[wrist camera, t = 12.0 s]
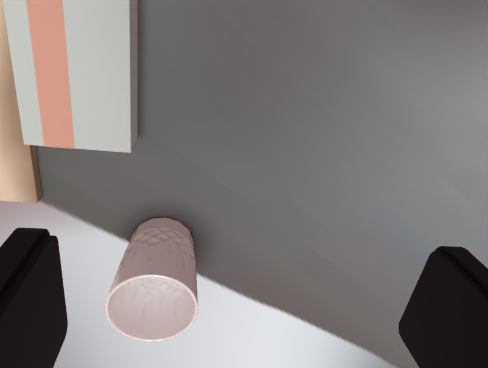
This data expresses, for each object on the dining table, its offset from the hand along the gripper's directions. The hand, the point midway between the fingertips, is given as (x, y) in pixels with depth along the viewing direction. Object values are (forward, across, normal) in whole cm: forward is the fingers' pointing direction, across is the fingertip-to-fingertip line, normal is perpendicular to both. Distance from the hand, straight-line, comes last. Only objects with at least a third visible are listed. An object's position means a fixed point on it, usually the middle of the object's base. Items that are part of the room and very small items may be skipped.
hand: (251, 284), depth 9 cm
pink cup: (+26, +4, +18) cm, 32 cm away
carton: (+26, +11, 0) cm, 29 cm away
